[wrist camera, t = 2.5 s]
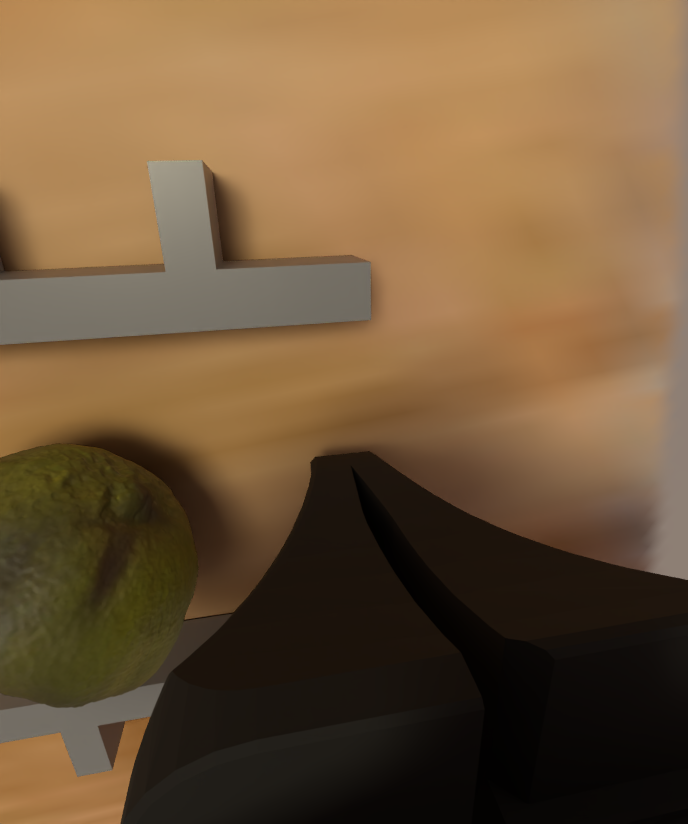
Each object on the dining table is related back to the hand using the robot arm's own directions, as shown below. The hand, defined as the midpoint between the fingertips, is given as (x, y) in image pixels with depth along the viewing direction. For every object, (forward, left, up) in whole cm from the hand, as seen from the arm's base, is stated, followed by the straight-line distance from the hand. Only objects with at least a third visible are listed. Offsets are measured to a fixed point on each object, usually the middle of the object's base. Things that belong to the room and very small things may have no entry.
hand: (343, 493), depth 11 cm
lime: (0, +5, -1) cm, 6 cm away
